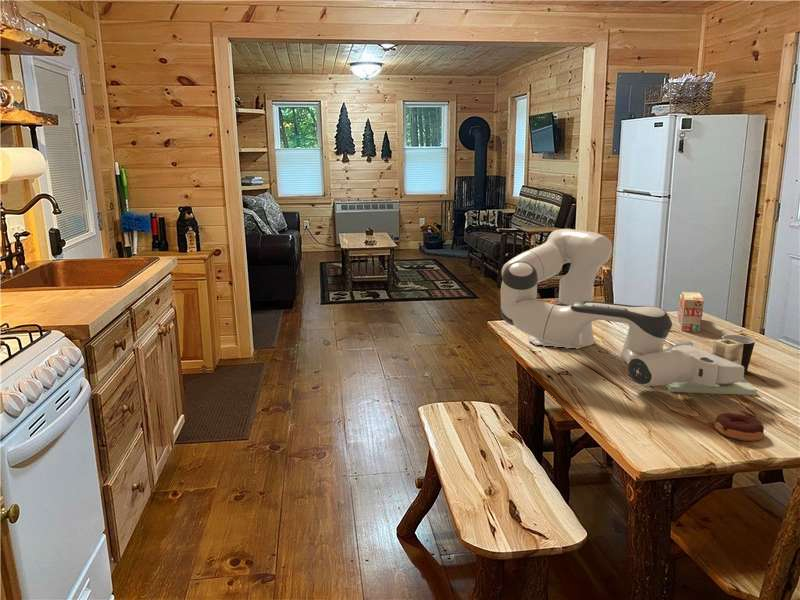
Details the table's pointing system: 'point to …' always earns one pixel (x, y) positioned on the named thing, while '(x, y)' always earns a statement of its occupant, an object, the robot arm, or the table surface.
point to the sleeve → (728, 350)
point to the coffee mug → (747, 348)
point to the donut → (739, 426)
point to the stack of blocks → (690, 311)
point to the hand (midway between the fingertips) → (729, 359)
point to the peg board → (714, 388)
